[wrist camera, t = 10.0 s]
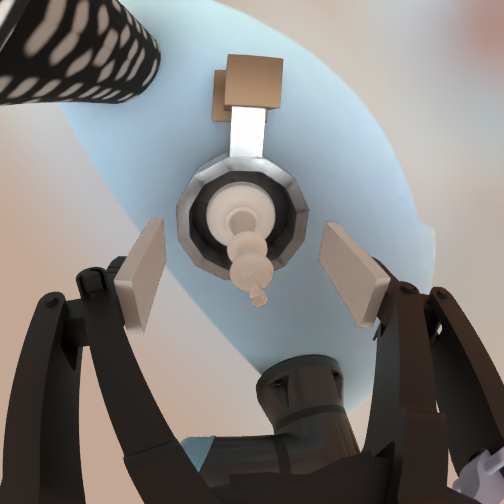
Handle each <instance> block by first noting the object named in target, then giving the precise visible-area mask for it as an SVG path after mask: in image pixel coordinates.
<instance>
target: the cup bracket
mask: <svg viewBox="0 0 504 504" xmlns="http://www.w3.org/2000/svg"><path fill="white" fill-rule="evenodd" d="M264 122H265V108H253V107H234V106H232V113H231V131H230V150H229V152H226V153H224V154H222V155H220V156H217V157H215V158H213V159H211V160H210V161H208V162H206V163H205V164H204V165H202V166H200V167H198V168H197V170H196V172H195V173H194V175H193V177H192V178H191V180H190V182H189V184H188V185H187V187H186V189H185V190H184V192H183V194H182V196H181V198H180V200H179V202H178V204H177V206H176V213H177V234H178V241H179V242H180V244H181V245H182V247H183V248H184V250H185V251H186V252H187V254H188V255H189V257H190V258H191V260H192V261H193V262H194V264H195V265H196V266H197V267H199V268H201V269H203V270H205V271H207V272H209V273H211V274H213V275H215V276H217V277H220V278H222V279H224V280H231V278H230V268H231V265H232V263H233V262H232V261H231V260H230V258H229V257H228V253H227V246H225V245H223V244H221V243H220V242H219V241H217V240H216V239H215V238H214V236H213V235H212V234H211V232H210V230H209V227H208V224H207V220H206V210H207V206H208V203H209V201H210V199H211V197H212V196H213V195H214V194H215V192H216V191H218V190H219V189H220V188H222V187H223V186H225V185H227V184H230V183H233V182H249V183H253V184H256V185H258V186H259V187H261V188H262V189H264V190H265V191H266V192H267V193H268V194H269V196H270V197H271V199H272V201H273V204H274V208H275V223H274V226H273V229H272V231H271V233H270V234H269V235H268V237H267V238H266V239H265V241H266V243H267V254H266V257H267V258H268V259H269V260H270V261H271V263H272V265H273V269H274V271H275V270H277V269H279V268H282V267H284V266H285V265H286V264H287V262H288V261H289V260H290V259H291V257H292V256H293V255H294V253H295V252H296V251H297V250H298V248H299V247H300V246H301V244H302V243H303V242H304V239H305V232H306V226H307V219H308V212H309V209H308V207H307V204H306V202H305V200H304V197H303V195H302V193H301V190H300V188H299V186H298V184H297V181H296V179H295V178H294V177H292V176H291V175H290V174H289V173H288V172H287V171H285V170H284V169H282V168H281V167H279V166H278V165H276V164H275V163H274V162H272V161H271V160H269V159H267V158H266V157H264V156H263V155H262V149H263V136H264Z"/></svg>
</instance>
